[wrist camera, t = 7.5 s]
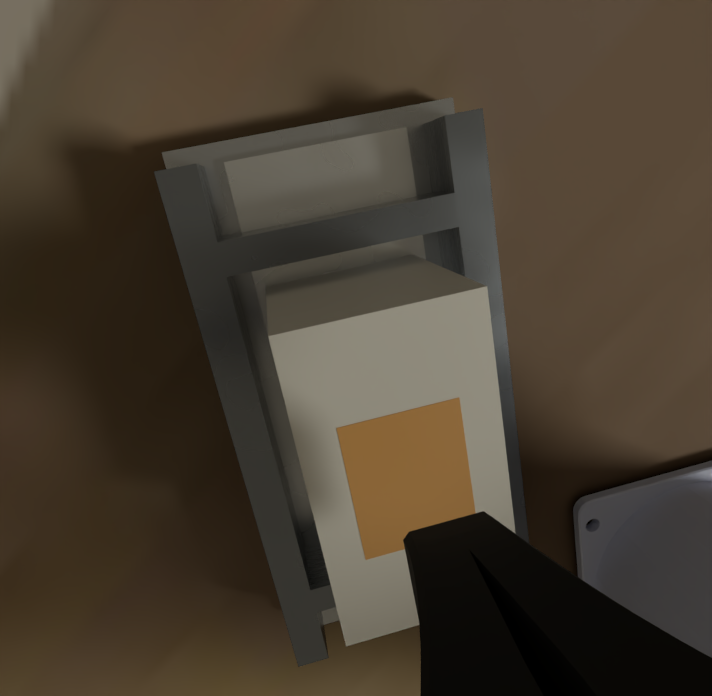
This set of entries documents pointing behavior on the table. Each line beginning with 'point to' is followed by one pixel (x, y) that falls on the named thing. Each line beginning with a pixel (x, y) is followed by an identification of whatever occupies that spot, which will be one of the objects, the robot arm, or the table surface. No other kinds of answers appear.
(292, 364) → the module
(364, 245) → the rail mount
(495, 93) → the table surface
